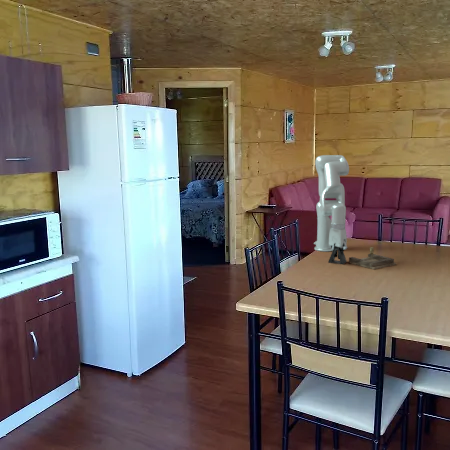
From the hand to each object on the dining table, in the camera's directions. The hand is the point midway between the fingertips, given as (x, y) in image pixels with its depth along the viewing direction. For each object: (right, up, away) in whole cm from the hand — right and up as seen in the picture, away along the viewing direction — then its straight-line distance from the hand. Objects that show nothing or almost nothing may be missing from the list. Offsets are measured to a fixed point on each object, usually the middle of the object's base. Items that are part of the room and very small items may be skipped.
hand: (337, 257), depth 270 cm
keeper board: (+19, -3, -3) cm, 19 cm away
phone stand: (0, -3, 0) cm, 3 cm away
